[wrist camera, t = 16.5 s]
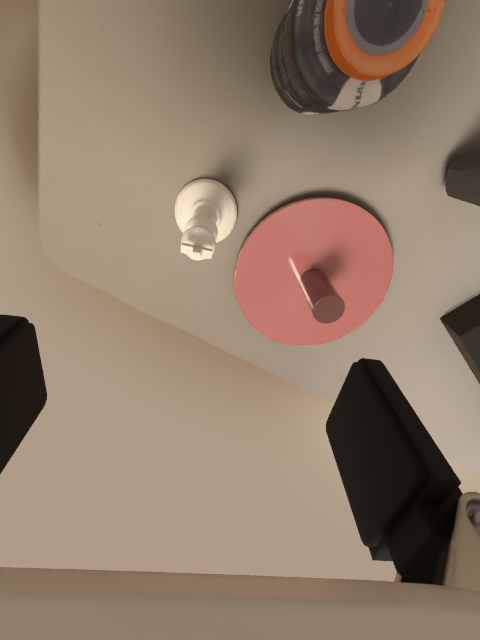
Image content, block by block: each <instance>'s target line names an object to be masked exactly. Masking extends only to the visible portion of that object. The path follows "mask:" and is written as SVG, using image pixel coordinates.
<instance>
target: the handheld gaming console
mask: <svg viewBox="0 0 480 640" xmlns="http://www.w3.org/2000/svg"><path fill="white" fill-rule="evenodd" d="M446 192H447V195H448V196H450V197H453V198H456V199H459V200H462V201H466V202H469V203H472V204H475V205H478V206H480V150H478V151H475V152H472V153H469V154H466V155H462V156H459V157H456V158H455V160H454V161H453V162H452V163H451V164H450V166H449V167H448V169H447V181H446Z"/></svg>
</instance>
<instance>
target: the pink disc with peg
mask: <svg viewBox="0 0 480 640" xmlns="http://www.w3.org/2000/svg"><path fill="white" fill-rule="evenodd" d="M392 272H393V252H392V247H391V243H390V241H389V238H388V235H387V234H386V232H385V230H384V228H383V227H382V225H381V224H380V223H379V222H378V220H377V219H376V218H375V217H374V216H372V215H371V214H370V213H369V212H368V211H366V210H364V209H363V208H361V207H360V206H358V205H356V204H354V203H351V202H349V201H346V200H342V199H338V198H331V197H313V198H307V199H302V200H299V201H295V202H292V203H290V204H287V205H285V206H283V207H281V208H279V209H277V210H276V211H274V212H273V213H271V214H270V215H268V216H267V217H266V218H265V219H263V220H262V221H261V222H260V223H259V224H258V225H257V226H256V227H255V228H254V229H253V231H252V232H251V233H250V235H249V236H248V237H247V239H246V241H245V242H244V244H243V246H242V248H241V250H240V253H239V255H238V258H237V262H236V266H235V274H234V286H235V294H236V298H237V301H238V304H239V307H240V309H241V311H242V313H243V314H244V316H245V317H246V319H247V320H248V321H249V322H250V323H251V325H252V326H253V327H254V328H256V329H257V330H258V331H259V332H261V333H262V334H264V335H266V336H267V337H269V338H271V339H274V340H276V341H279V342H282V343H286V344H292V345H315V344H321V343H325V342H329V341H332V340H335V339H337V338H340V337H342V336H344V335H346V334H348V333H350V332H351V331H353V330H354V329H356V328H357V327H359V326H360V325H361V324H362V323H364V322H365V321H366V320H367V319H368V318H369V317H370V316H371V315H372V314H373V312H374V311H375V310H376V309H377V308H378V306H379V305H380V303H381V302H382V300H383V298H384V296H385V294H386V292H387V290H388V287H389V285H390V281H391V277H392Z"/></svg>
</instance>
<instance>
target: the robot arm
mask: <svg viewBox="0 0 480 640" xmlns="http://www.w3.org/2000/svg"><path fill="white" fill-rule="evenodd" d="M46 400H47V392H46V386H45V381H44V375H43V370H42V364H41V359H40V353H39V348H38V342H37V337H36V331H35V327H34V325H33V324H32V323H29V322H28V320H27V319H26V318H25V317H19V316H11V315H0V474H1V472H2V471H3V469H4V468H5V466H6V464H7V463H8V461H9V460H10V458H11V457H12V455H13V454H14V452H15V451H16V449H17V448H18V446H19V444H20V443H21V441H22V440H23V438H24V437H25V435H26V434H27V432H28V431H29V429H30V427H31V426H32V424H33V423H34V421H35V420H36V418H37V417H38V415H39V413H40V412H41V410H42V409H43V407H44V405H45V403H46ZM326 432H327V435H328V438H329V442H330V445H331V447H332V451H333V454H334V457H335V460H336V463H337V466H338V469H339V472H340V476H341V479H342V481H343V484H344V488H345V491H346V494H347V497H348V500H349V503H350V506H351V509H352V512H353V516H354V519H355V522H356V525H357V528H358V531H359V534H360V537H361V540H362V542H363V544H364V545H365V546H368V547H369V550H370V553H371V556H372V559H373V560H380V561H393V563H394V565H395V568H396V570H397V574H396V577H395V581H394V582H386V581H370V580H349V579H323V578H299V577H274V576H249V575H222V574H220V575H219V574H194V573H165V572H136V571H107V570H73V569H40V568H8V567H6V568H5V567H0V640H480V493H477V492H467V493H465V494H462V492H461V490H460V489H459V487H458V486H459V485H460V484H461V482H460V480H459V479H458V477H457V476H456V474H455V473H454V471H453V470H452V468H451V466H450V465H449V463H448V462H447V460H446V459H445V457H444V456H443V454H442V453H441V451H440V450H439V448H438V447H437V445H436V444H435V442H434V440H433V439H432V437H431V436H430V434H429V433H428V431H427V430H426V428H425V427H424V425H423V424H422V422H421V421H420V419H419V418H418V416H417V414H416V413H415V411H414V410H413V408H412V407H411V405H410V404H409V402H408V401H407V399H406V398H405V396H404V395H403V393H402V392H401V390H400V388H399V387H398V385H397V384H396V382H395V381H394V379H393V378H392V376H391V375H390V373H389V372H388V370H387V369H386V367H385V366H384V364H383V363H382V362H381V361H379V360H373V359H365V358H362V359H360V360H358V362H354V363H353V364H352V366H351V368H350V370H349V373H348V375H347V377H346V379H345V382H344V384H343V386H342V388H341V391H340V393H339V395H338V397H337V399H336V402H335V404H334V406H333V408H332V411H331V413H330V415H329V417H328V420H327V422H326Z"/></svg>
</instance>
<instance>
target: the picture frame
mask: <svg viewBox="0 0 480 640" xmlns="http://www.w3.org/2000/svg"><path fill="white" fill-rule="evenodd" d="M441 321H442V323H443V324H444V326H445V328H446V329H447V331H448V333H449V334H450V336H451V337H452V339H453V341H454V342H455V344H456V346H457V347H458V349H459V351H460V352H461V354H462V355H463V357H464V359H465V360H466V362H467V364H468V365H469V367H470V369H471V370H472V372H473V374H474V375H475V377H476V378H477V380H478V382H479V383H480V295H479V296H478V297H476V298H474V299H473V300H471V301H469V302H468V303H466V304H464V305H463V306H461V307H459V308H457V309H456V310H454V311H452V312H451V313H449V314H447V315H446V316H444V317H442V318H441Z"/></svg>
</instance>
